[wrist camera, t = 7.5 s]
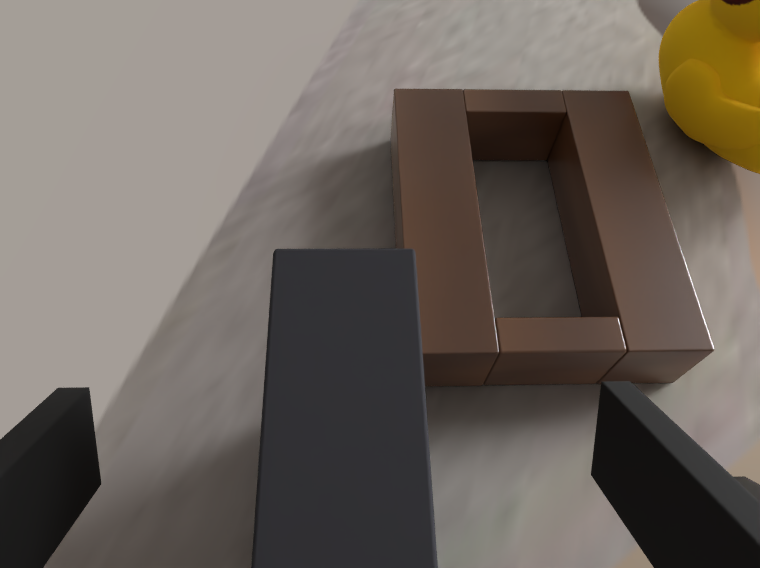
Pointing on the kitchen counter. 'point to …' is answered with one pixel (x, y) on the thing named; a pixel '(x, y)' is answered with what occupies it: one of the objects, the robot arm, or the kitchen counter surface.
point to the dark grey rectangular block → (344, 415)
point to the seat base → (581, 231)
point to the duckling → (715, 77)
